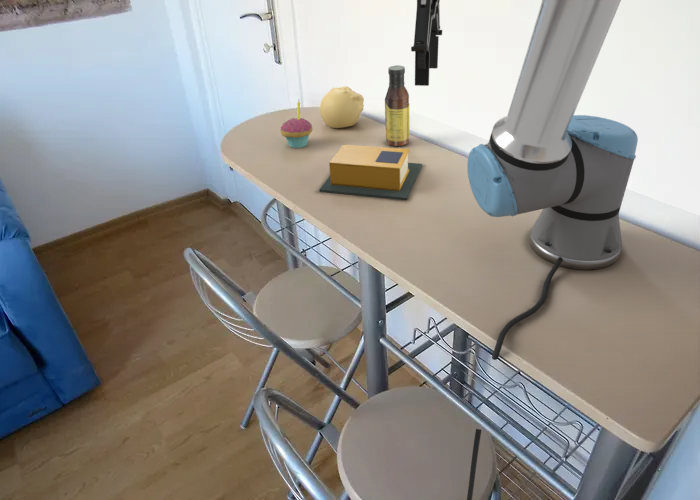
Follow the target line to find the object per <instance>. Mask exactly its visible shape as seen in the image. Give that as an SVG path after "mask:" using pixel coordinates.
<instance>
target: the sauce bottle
mask: <svg viewBox="0 0 700 500" xmlns="http://www.w3.org/2000/svg"><path fill="white" fill-rule="evenodd" d="M387 71H388V75H389V76H388V79H389V80H388V87H387V91H386V94H385V98H384V117H385V119H384V120H385V123H384V125H385V140H386V143H387V145H390V146H391V147H403V146H406V145H408V144H409V141H410V93H409V91H408V89H407V88H406V87H405V73H406V67H405V66H403V65H399V64H398V65H397V64H396V65H390V66H388V70H387Z"/></svg>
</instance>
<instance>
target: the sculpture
mask: <svg viewBox="0 0 700 500" xmlns="http://www.w3.org/2000/svg"><path fill="white" fill-rule="evenodd" d="M364 98H365V97H364V96H363V95H362V94H360V93H359V92H356V91H355V90H352V89H351V87H349V86H341V87H332V88H331V89H330V90H329V91H328V92H327V93H325V95H323V97H322V99H321V101H320V105H319V113H320V116H321V119H322V121H323V122H324V124H325V125H326V126H328V127H330V128H334V129H335V128H337V129H338V128H340V129H341V128H347V127H352V126H354V125H356V124H357V122H358V120H359V119H360V116H361V114H362V112H363V111H364V106H365V105H364V101H365V99H364Z"/></svg>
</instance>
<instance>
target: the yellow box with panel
mask: <svg viewBox="0 0 700 500" xmlns="http://www.w3.org/2000/svg"><path fill="white" fill-rule="evenodd" d="M409 153H410V149H409V148H399V147H398V148H397V147H396V148H395V147H381V146H371V145H369V146H368V145H356V144H355V145H354V144H353V145H352V144H342V146H341V147H340V148H339V149H338V151H337V152H336V153H335V154H334V156H333V157H332V158H331V159H330V160H329V162H328V164H329V165H328V166H329V176H330V179H331V185H340V186H350V187H361V188H372V189H382V190H393V191H400V189H401V187H402V185H403V183H404V181H405V179H406V177H407V175H408V172H409V169H408V163H409Z"/></svg>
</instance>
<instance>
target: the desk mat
mask: <svg viewBox="0 0 700 500" xmlns="http://www.w3.org/2000/svg"><path fill="white" fill-rule="evenodd" d="M422 167H423V163H417V162H408V169H409V172H408V175H407V177H406V179H405V181H404V183H403V185H402V187H401V189H400V191H393V190H382V189H372V188H361V187H350V186H340V185H331V179H330V175H329V176H328V177H327V179H326V180H325V181H324V183H323V184H322V185H321V187H320V188H319V189H318V190H319V192H320V193H328V194H329V193H330V194H338V195H339V194H340V195H348V196H349V195H350V196H360V197H371V198H378V199H379V198H380V199H389V200H390V199H391V200H401V201H407V200H408V199H409V195H410V194H411V193H412V192H411V191H412V189H413V187H414V185H415V182H416V181H417V178H418V176H419V174H420V171H421V169H422Z"/></svg>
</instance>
